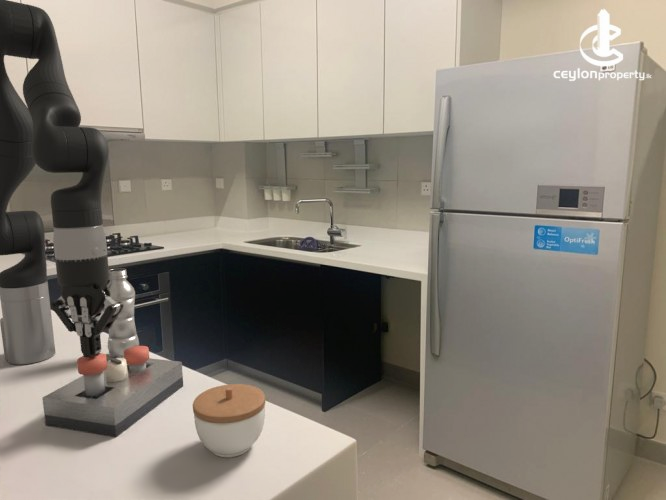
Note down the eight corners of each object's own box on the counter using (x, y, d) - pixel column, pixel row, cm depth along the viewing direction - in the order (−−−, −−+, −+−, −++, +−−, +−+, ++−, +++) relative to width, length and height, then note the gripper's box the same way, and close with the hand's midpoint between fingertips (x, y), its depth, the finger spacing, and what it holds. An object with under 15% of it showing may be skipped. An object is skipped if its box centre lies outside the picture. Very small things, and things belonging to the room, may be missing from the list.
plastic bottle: (120, 349, 115) (112, 266, 112) (145, 351, 114) (139, 267, 111) (102, 360, 109) (93, 272, 106) (129, 362, 108) (121, 273, 104)
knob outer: (74, 396, 81) (70, 361, 80) (93, 384, 85) (90, 352, 84) (96, 399, 80) (93, 364, 79) (115, 387, 84) (112, 354, 83)
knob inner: (121, 383, 92) (118, 353, 91) (136, 373, 96) (133, 344, 95) (141, 385, 91) (138, 355, 90) (155, 376, 95) (153, 346, 94)
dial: (102, 379, 87) (100, 360, 87) (121, 371, 90) (119, 354, 89) (112, 384, 85) (110, 365, 84) (132, 376, 88) (129, 358, 87)
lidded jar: (222, 422, 82) (219, 370, 80) (279, 434, 78) (277, 379, 76) (180, 458, 72) (176, 398, 70) (243, 474, 68) (240, 411, 66)
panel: (45, 425, 81) (42, 397, 80) (122, 378, 99) (120, 355, 99) (116, 437, 78) (113, 408, 77) (183, 385, 96) (181, 361, 95)
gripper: (132, 251, 80) (140, 351, 83) (66, 248, 84) (76, 344, 87) (98, 259, 73) (109, 368, 76) (28, 256, 77) (41, 360, 80)
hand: (91, 355), depth 81 cm, fingers closed
